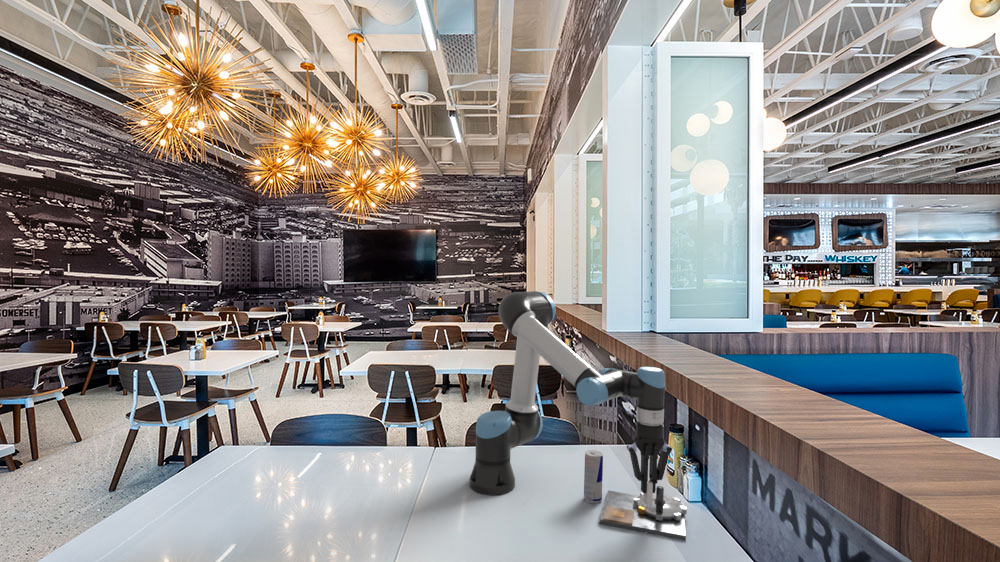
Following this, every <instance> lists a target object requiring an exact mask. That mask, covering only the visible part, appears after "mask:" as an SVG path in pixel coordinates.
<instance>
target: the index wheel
mask: <svg viewBox="0 0 1000 562" xmlns="http://www.w3.org/2000/svg"><path fill="white" fill-rule="evenodd" d="M664 493H665V492H664V487H663V486H660V485H658V486H656V490H655V493H652V506H647V505H646V504H645V503H644V502H643V500H644V493H643V492H640V493H639V497H638V498H634V505H636V506H637V507H638V512H639V513H641V514H642V515H643V514H646V515H649V516H651V517H655V518H656V520H661V521H662V519H674V520H676V521H677V520H681V516H682V514H685V515H687V509H688V508H687V506H685V505H684V506H682V504H681V503H682V502H681V501H682V500H681V499H680V498H678V497H672V496H671V495H670V496H669V495H667V494H664Z"/></svg>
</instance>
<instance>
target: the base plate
mask: <svg viewBox="0 0 1000 562" xmlns="http://www.w3.org/2000/svg"><path fill="white" fill-rule="evenodd" d="M605 496H606V497H605V499H604V503H603V507H602V510H601V514H600V517H599V524H600V525H605V526H609V527H614V528H620V529H624V530H628V531H629V530H630V531H634V530H635V532H639V531H642V532H641V533H645V532H647V533H646V534H650V533H651V535H656V536H661V537H665V538H672V539H677V540H682V541H686V540H687V536H686V535H687V534H686V531H687V529H686V516H685V515H686V514H682V516H681V520H677V521H676V520H674V519H662V521H661V520H656V518H655V517H651V516H649V515H646V514H643V515H642V514H641V513H639V512H638V507H637V506H636V505H634V498H638V497H639V496H640V494H631V493H626V492H625V493H624V492H621V491H615V490H614V491H613V490H609V489H608V490H607V493H606V495H605ZM681 504H682V506H685V503H684V502H681ZM606 506H611V507H617V508H623V509H628V510H634V517H633V524H632V526H630V525H625V524H620V523H614V522H609V521H604V520H603V517H604V513H605V510H606Z"/></svg>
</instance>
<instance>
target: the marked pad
mask: <svg viewBox="0 0 1000 562" xmlns="http://www.w3.org/2000/svg"><path fill="white" fill-rule="evenodd" d="M633 517H634V510H628V509H623V508H617V507H611V506H606V510H605V513H604V517H603V520H604V521H609V522H614V523H620V524H625V525H630V526H632V524H633Z"/></svg>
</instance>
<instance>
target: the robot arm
mask: <svg viewBox="0 0 1000 562" xmlns="http://www.w3.org/2000/svg"><path fill="white" fill-rule="evenodd" d="M556 309H557V308H556V304H555V302H554V300H553V299H552V297H551V296H550V295H549V294H547V293H546V292H542V291H538V290H537V291H535V290H533V291H531V290H530V291H513V292H510V293H508V294H507V295H504V297H503V298H502V299H501V301H500V303H499V305H498V317H499V320H500V322H501V323H502V326H503V327H504V328H506V330H507V331H508V332H509V333H510V334H512V335H513V336H514V337H516V343H515V344H516V345H515V353H514V354H515V355H514V356H515V357H514V365H513V374H512V383H511V391H510V393H511V394H510V399H509V400H508V401H507V402H506V403H505V408H504V410H489V411H487V412H484V413H482V414H480V415H479V416H478V418H477V420H476V425H475V459H474V460H475V461H474V464H473V467H472V470H471V473H470V476H469V487H470V489H471V490H473V491H474V492H476V493H479V494H483V495H487V496H488V495H490V496H495V495H503V494H507V493H509V492H511V491H513V490H514V488H515V487H516V478H515V477H516V476H515V474H514V470H513V467H512V463H511V452H512V451H511V449H515V448H516V447H519V446H522V445H524V444H529V443H530V442H533V441H534V440H536V439H538V437H539V436H540V434H541V433H542V431H543V424H544V423H543V422H544V420H543V417H542V416H541V413H540V411H539V406H538V405H537V404H536V403H535V402H536V394H537V393H536V391H537V385H538V377H539V375H538V374H539V368H540V367H539V366H540V359H541V357H542V358H543V359H544V360H545V362H546V363H548V364H549V365H550V366H551V367H553V369H555V370H556V371H557V372H558V373H559V374H560V375H561V377H562V376H563V378H564V379H566V380H567V381H568V382H569V383H570V384H571V385H573V387H575V390H576V396H577V398H578V400H579V402H581V403H582V404H583V405H585V406H587V407H588V406H589V407H590V406H591V407H592V406H599V405H601V404H604V403H605V402H608V401H611V400H613V399H616V398H619V397H624V398H630V399H635V400H636V415H635V416H636V420H637V421H636V424H635V426H636V427H635V428H636V429H635V430H636V431H635V439H634V442H633V443H632V444H631V445H630V444H626V449H627V451H628V452H629V456H630V460H631V465H632V470H633V475H634V477H635V478H636V479H637V481H639V482H640V491H641V493H644V500H643V502H644V503H645V504H646V505H647V506H652V493H655V494H656V487H657V486H656V484H658V481H662V480H663V478H664V474H665V471H666V467H667V464H668V458H669V456H670V455H671V453H672V452H673V448H672V447H671V446H670V445H669V444H667V443H665V440H664V431H665V429H664V427H665V426H664V424H663V423H664V421H665V395H666V394H665V392H666V391H665V390H666V380H665V379H666V378H665V377H666V375H665V371H664V370H663V369H661V368H659V367H655V366H640V367H638V369H637V372H633V371H628V370H622V369H618V368H612V367H611V368H609V367H607V368H602V369H601V371H600V372H598V371H597V370H595V369H594V368H593V367H592V366H591V365H590V364H588V363H587V362H586V361H585V360H584V359H583V358H582V357H581V356H579V355H578V354H577V353H576V352H575V351H574V350H572V348H571V347H569V346H568V345H567V344H566V343H564V342H563V341H562V340H561V339H560V338H558V337H557V336H556V335H555V334H554V333H553V332H552V331H550V330H549V328H548V327H549V324H551V323H552V321H553V320H554V319H555V316H556V314H557V313H556V312H557V310H556ZM637 449H638V450H639V453H640V463H639V458H638V455H637ZM659 453H660V454H659Z"/></svg>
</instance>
